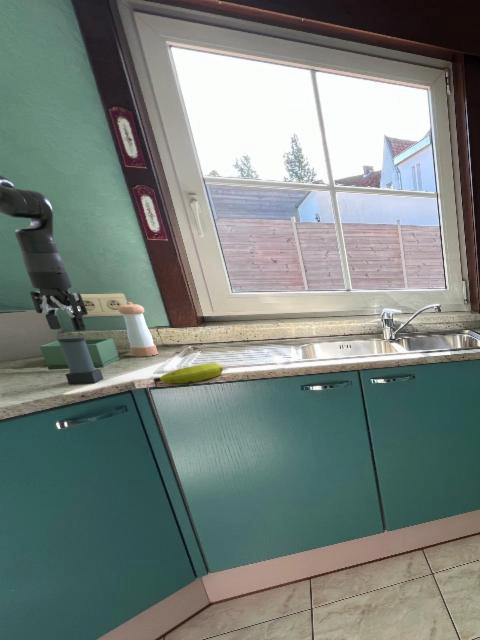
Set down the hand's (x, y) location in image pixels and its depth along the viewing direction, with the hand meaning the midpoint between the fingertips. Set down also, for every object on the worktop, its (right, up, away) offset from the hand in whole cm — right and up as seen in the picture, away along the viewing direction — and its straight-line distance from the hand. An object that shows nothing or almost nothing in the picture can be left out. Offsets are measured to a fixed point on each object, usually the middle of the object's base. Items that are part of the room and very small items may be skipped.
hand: (68, 329), depth 141 cm
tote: (-22, -5, +26) cm, 34 cm away
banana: (+24, -12, +14) cm, 30 cm away
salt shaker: (-17, +1, +42) cm, 46 cm away
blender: (-1, -14, +6) cm, 15 cm away
